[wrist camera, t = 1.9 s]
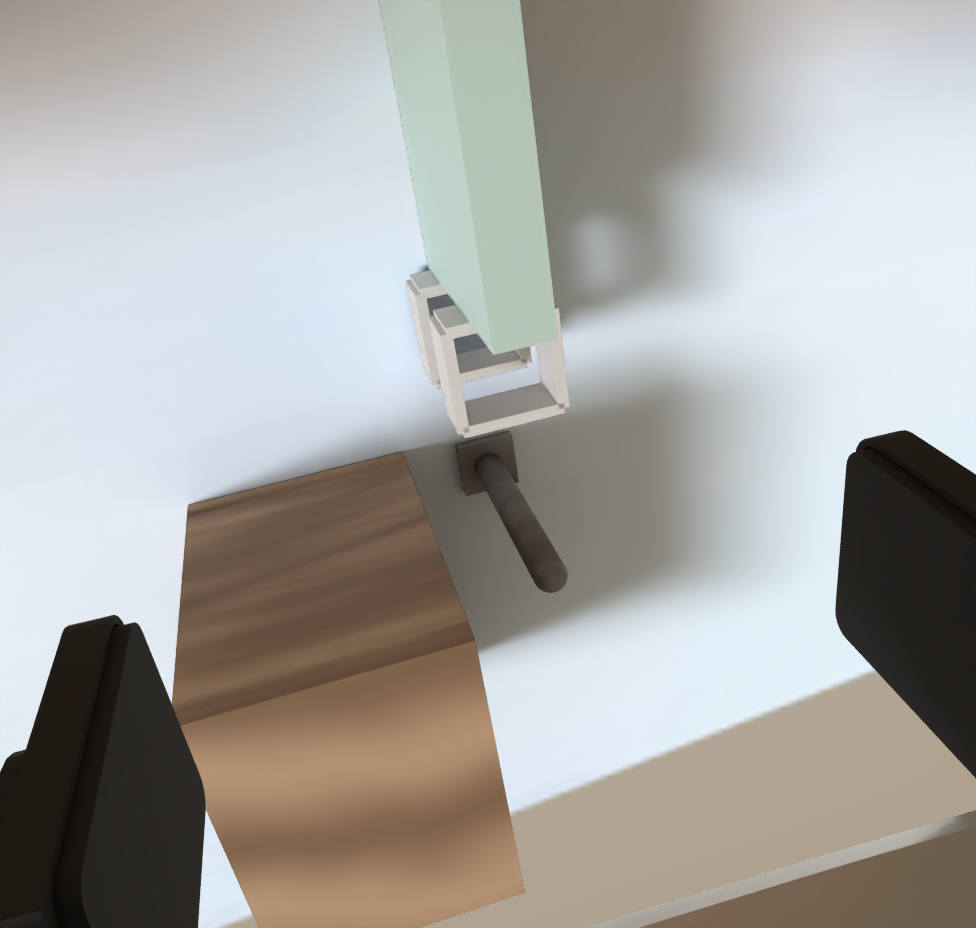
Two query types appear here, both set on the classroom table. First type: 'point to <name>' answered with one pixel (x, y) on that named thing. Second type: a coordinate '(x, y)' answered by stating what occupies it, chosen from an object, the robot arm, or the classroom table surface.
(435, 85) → the door
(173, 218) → the classroom table surface
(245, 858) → the cabinet
